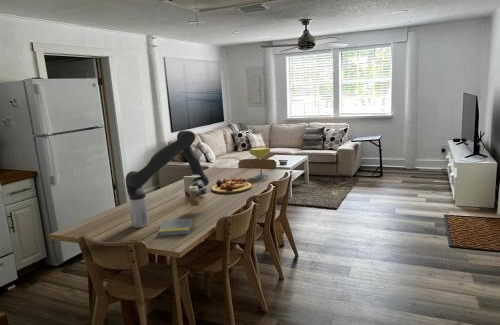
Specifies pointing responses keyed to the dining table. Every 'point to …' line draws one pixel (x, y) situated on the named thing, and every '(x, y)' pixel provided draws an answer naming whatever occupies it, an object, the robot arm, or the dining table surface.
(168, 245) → the dining table surface
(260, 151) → the cocktail glass
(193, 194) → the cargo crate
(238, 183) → the wooden plate with food
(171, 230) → the dock
